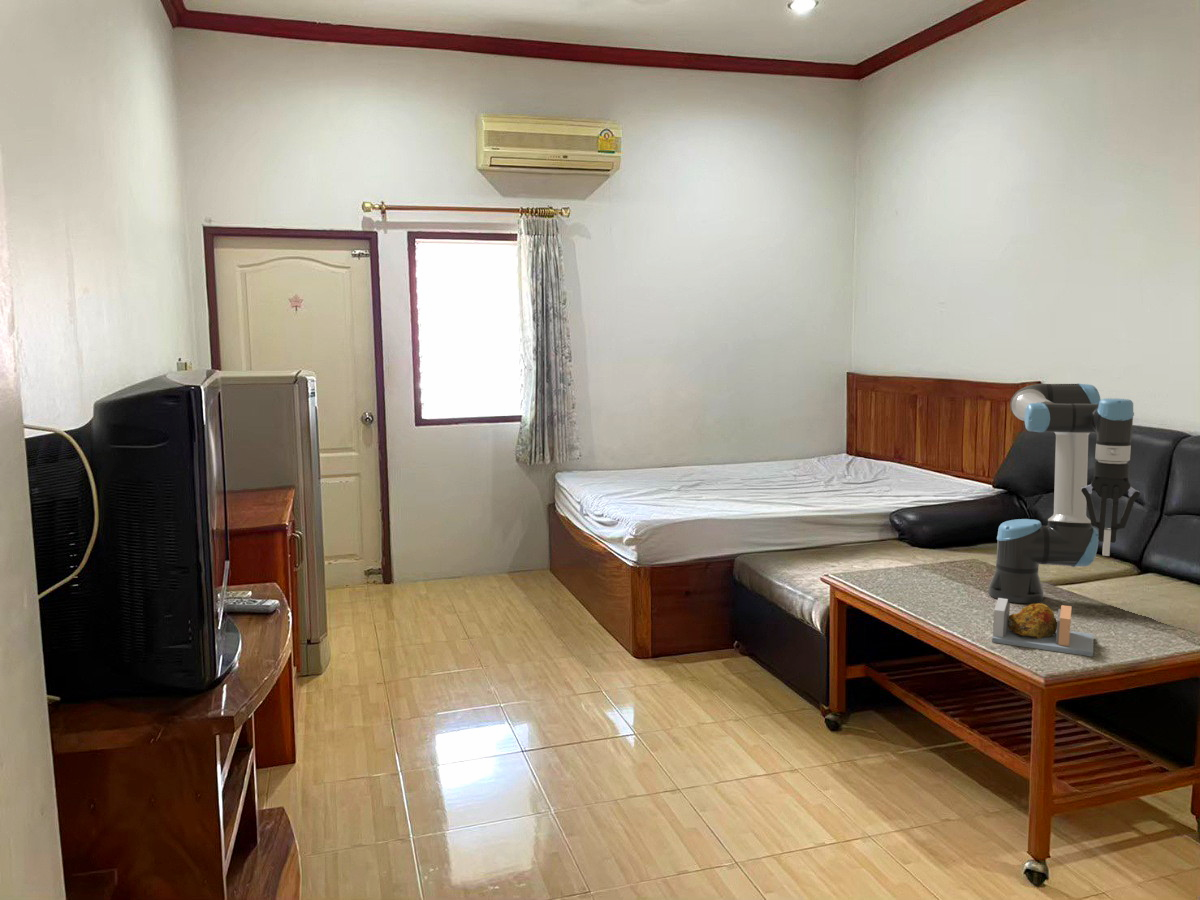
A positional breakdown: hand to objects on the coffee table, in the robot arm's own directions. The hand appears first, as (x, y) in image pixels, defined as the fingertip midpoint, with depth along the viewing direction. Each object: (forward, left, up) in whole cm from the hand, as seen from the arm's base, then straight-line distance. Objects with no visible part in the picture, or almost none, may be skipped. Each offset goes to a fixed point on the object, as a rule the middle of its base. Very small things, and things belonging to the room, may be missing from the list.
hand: (1105, 554), depth 224 cm
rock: (-1, -15, -23) cm, 28 cm away
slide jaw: (0, -8, -23) cm, 25 cm away
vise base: (0, -13, -24) cm, 28 cm away
